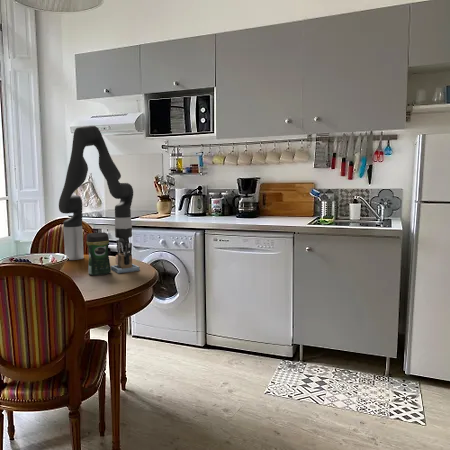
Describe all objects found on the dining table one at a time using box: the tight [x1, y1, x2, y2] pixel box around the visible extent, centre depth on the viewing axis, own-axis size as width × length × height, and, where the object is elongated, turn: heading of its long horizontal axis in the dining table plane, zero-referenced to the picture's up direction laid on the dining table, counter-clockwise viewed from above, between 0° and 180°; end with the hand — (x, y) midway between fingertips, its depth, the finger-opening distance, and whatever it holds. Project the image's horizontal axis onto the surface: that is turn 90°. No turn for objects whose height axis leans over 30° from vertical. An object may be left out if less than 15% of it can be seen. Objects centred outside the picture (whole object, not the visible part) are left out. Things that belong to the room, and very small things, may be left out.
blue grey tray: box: [110, 263, 141, 275], centre depth 199 cm, size 10×10×2 cm
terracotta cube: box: [115, 254, 118, 265], centre depth 214 cm, size 4×4×4 cm
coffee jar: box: [86, 231, 112, 276], centre depth 191 cm, size 10×8×19 cm
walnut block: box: [117, 253, 133, 269], centre depth 198 cm, size 5×5×6 cm
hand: (124, 263), depth 198 cm, fingers closed on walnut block, 5 cm apart
